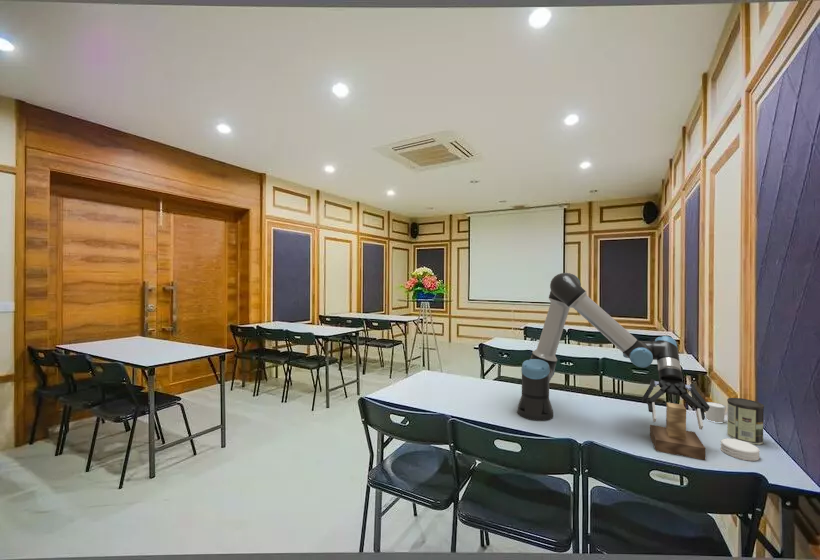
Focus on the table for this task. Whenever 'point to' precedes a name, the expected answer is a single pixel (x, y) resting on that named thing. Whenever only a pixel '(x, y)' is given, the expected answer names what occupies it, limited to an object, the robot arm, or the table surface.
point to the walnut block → (677, 443)
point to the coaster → (740, 449)
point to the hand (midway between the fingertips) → (677, 424)
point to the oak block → (676, 421)
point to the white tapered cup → (715, 412)
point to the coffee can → (745, 420)
